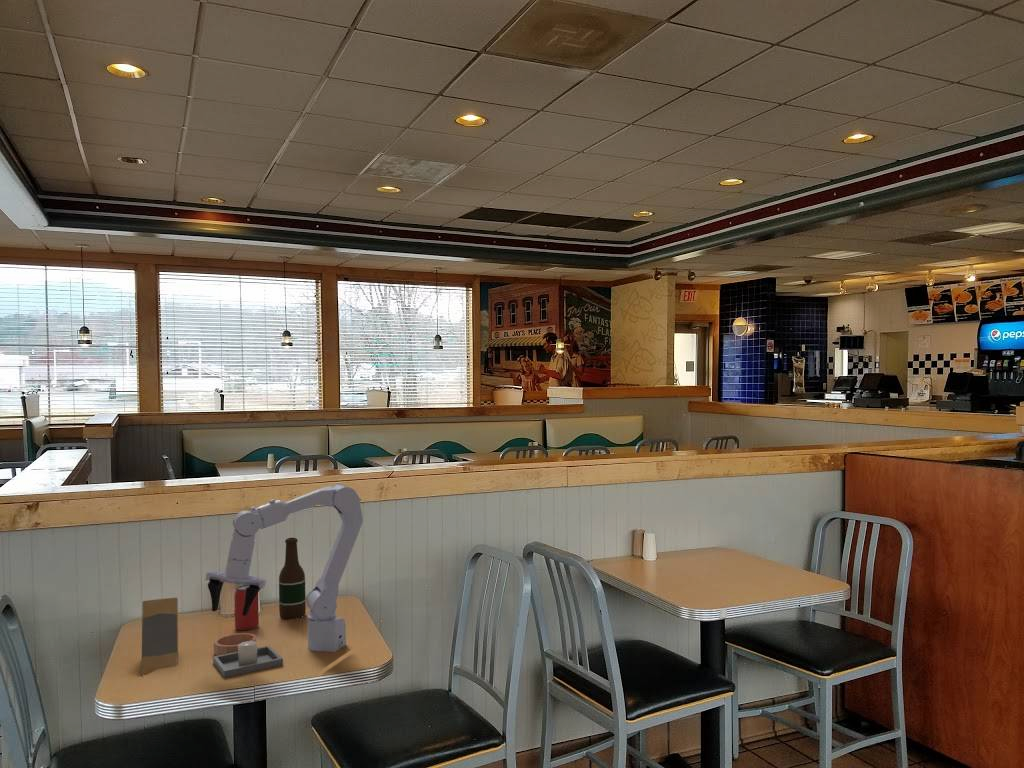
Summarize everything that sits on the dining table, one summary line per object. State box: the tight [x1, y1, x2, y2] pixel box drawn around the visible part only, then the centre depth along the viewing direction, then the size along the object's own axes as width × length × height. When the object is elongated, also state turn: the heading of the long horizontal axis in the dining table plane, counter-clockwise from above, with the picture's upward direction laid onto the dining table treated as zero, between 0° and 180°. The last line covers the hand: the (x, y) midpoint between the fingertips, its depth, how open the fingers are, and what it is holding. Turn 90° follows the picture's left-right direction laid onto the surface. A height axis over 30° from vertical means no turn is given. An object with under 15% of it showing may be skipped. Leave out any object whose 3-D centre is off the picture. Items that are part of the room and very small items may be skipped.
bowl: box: [213, 632, 258, 656], centre depth 197 cm, size 10×10×4 cm
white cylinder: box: [238, 641, 258, 667], centre depth 187 cm, size 4×4×5 cm
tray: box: [212, 645, 284, 679], centre depth 187 cm, size 14×12×3 cm
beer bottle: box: [278, 537, 307, 620], centre depth 230 cm, size 8×8×24 cm
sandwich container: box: [140, 597, 179, 677], centre depth 191 cm, size 9×15×15 cm, turn 24°
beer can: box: [234, 585, 260, 632], centre depth 220 cm, size 7×7×12 cm
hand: (229, 612), depth 189 cm, fingers open, 7 cm apart
